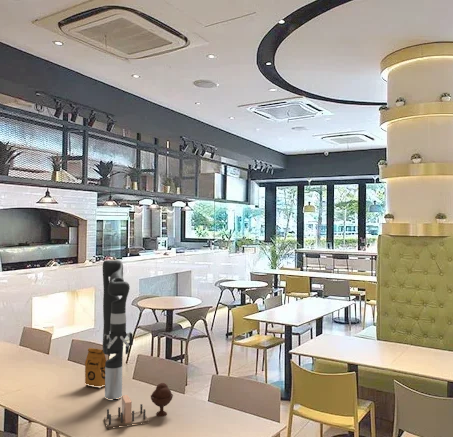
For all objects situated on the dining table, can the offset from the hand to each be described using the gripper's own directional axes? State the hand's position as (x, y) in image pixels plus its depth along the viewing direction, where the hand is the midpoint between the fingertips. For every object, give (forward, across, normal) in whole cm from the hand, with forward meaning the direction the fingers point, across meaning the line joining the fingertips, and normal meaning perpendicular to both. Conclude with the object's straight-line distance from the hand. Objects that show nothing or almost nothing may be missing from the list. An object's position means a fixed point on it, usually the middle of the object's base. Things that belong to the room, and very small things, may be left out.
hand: (117, 354), depth 228 cm
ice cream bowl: (+30, -21, +6) cm, 37 cm away
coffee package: (+30, +5, -49) cm, 57 cm away
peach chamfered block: (+29, -3, +8) cm, 30 cm away
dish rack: (+30, -3, +8) cm, 31 cm away
